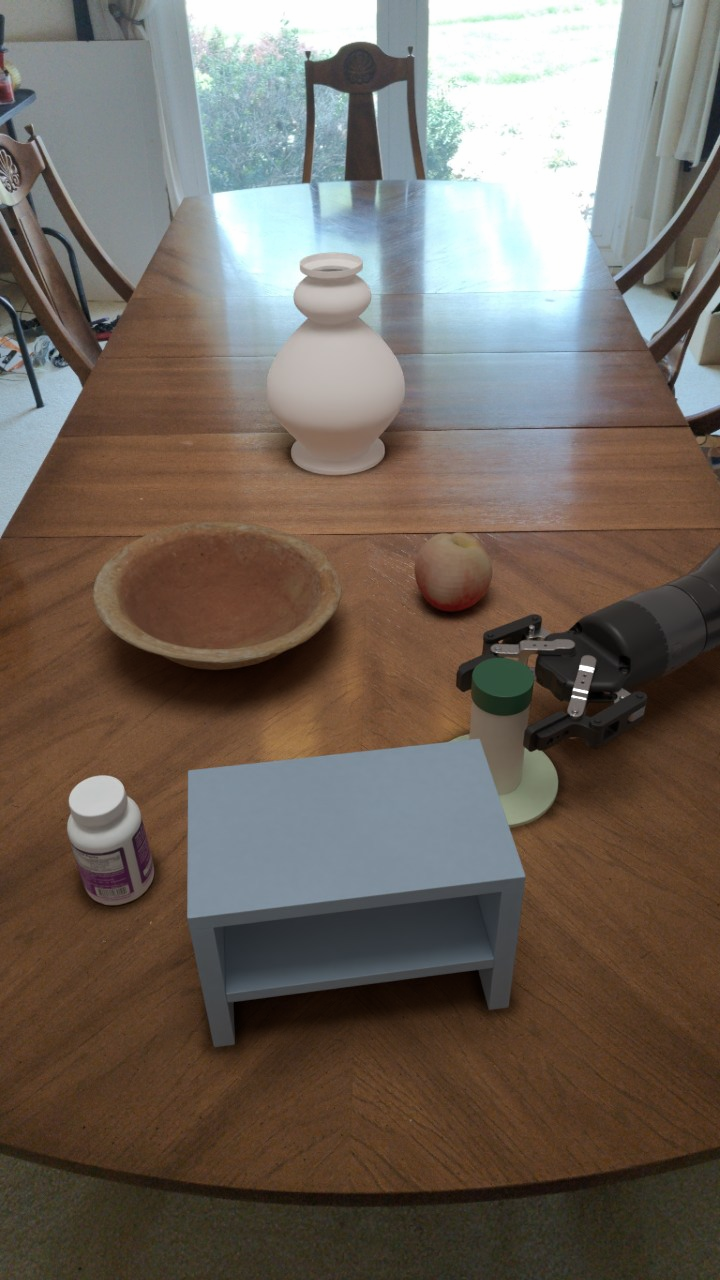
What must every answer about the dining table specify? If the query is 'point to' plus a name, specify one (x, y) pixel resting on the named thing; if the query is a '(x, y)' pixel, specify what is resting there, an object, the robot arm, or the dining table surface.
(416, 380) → the dining table surface
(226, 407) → the dining table surface
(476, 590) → the fruit
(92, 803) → the pill bottle
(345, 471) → the decorative vase
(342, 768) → the shelf
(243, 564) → the bowl
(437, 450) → the dining table surface
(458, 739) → the mat
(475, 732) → the spice bottle
